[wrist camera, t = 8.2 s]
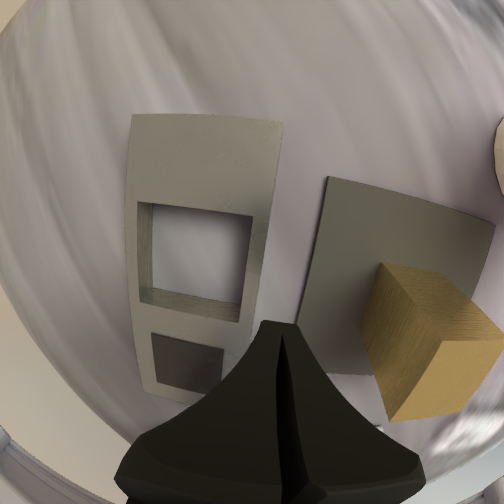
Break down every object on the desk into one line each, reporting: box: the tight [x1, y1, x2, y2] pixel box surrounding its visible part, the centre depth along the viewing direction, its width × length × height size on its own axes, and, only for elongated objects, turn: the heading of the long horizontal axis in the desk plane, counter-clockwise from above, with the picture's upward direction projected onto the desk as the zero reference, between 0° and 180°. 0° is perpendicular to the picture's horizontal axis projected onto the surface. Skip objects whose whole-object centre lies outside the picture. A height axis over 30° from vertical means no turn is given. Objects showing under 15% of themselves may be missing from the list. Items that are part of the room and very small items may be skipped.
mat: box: [296, 176, 496, 375], centre depth 14 cm, size 12×12×1 cm
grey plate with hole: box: [125, 114, 284, 405], centre depth 14 cm, size 18×7×2 cm, turn 172°
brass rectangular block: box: [358, 262, 504, 422], centre depth 11 cm, size 4×4×7 cm
